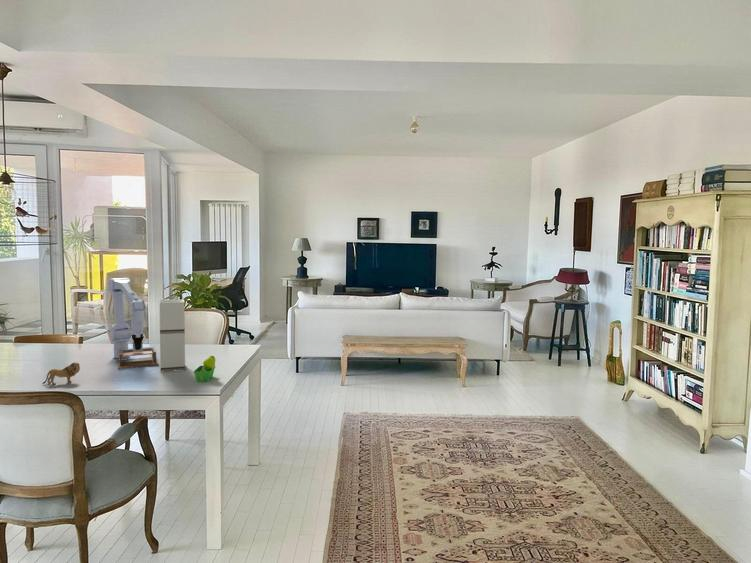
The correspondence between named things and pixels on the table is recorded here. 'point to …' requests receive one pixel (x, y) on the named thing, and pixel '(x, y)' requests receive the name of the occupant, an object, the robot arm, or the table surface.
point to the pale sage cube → (137, 350)
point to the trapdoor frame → (137, 361)
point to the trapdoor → (130, 352)
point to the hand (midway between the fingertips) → (137, 348)
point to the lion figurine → (63, 373)
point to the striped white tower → (172, 335)
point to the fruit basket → (205, 370)
